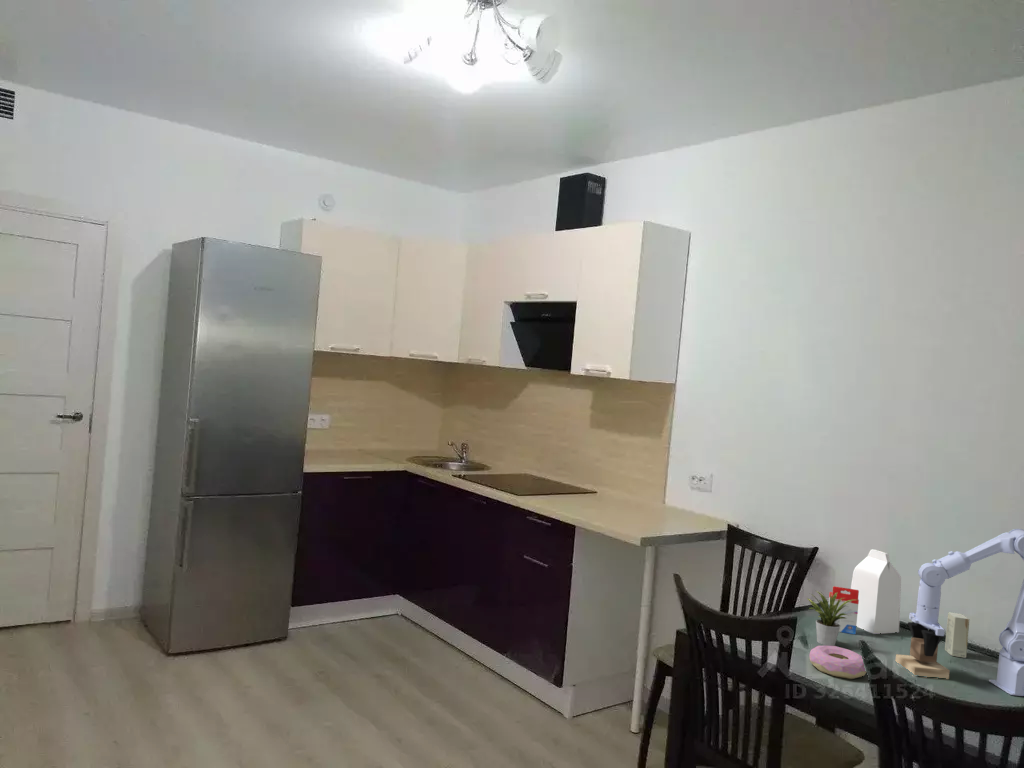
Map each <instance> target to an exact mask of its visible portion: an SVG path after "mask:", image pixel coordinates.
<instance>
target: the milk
mask: <svg viewBox="0 0 1024 768" xmlns="http://www.w3.org/2000/svg"><path fill="white" fill-rule="evenodd" d="M851 577H852V578H851V584H850V589H855V590H859V595H858V600H859V603H858V614H857V624H856V626H857V627H856V628H858V629H862V630H863V629H864V631H866V632H868V633H870V634H873V635H876V634H877V635H879V634H880V633H881V634H895V632H897V633H900V615H901V593H902V591H901V590H902V577H901V574H900V573H899V571H898V570H897V569H896V567H894V565H893V563H891V560H890V556H889V553H888V552H884V551H881V550H878V549H875V548H873V549H872V548H871V549H870V550H869V552H868V553H867V556H866V557H865V558H863V560H861V561H860V562H859V563H858V564H857V565H856V566H855V567H854V569H853V572H852V576H851Z"/></svg>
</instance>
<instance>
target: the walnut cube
mask: <svg viewBox="0 0 1024 768" xmlns="http://www.w3.org/2000/svg"><path fill="white" fill-rule="evenodd" d="M910 639H911V640H910V646H909V647H910V648H909V655H911V656H913V657H914V658H916V659H917V660H919V661H926V662H937V660H938V651H939V650H938V649H939V645H938V646H937V648H936V650H935V653H934V655H933V656H926V655H925V653H924V638H912V636H911V637H910Z"/></svg>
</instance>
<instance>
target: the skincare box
mask: <svg viewBox="0 0 1024 768" xmlns="http://www.w3.org/2000/svg"><path fill="white" fill-rule="evenodd" d="M970 621H971V620H970V618H969V617H968V616H967V615H964V614H963V613H957V612H952V611H951V612H950V611H949V612H947V621H946V622H947V623H946V631H945V633H946V634H945V644H944V650H945V652H947V654H949V655H950V656H953V657H958V658H963V659H966V658H967V654H968V653H967V650H968V640H969V632H970V631H969V629H970Z"/></svg>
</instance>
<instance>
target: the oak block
mask: <svg viewBox="0 0 1024 768" xmlns="http://www.w3.org/2000/svg"><path fill="white" fill-rule="evenodd" d="M895 661H896V662H897V663H899V664H901V665H902V666H903V667H905V668H906V669H908V670H909V671H910V672H912V673H913V674H914V675H919V676H927V677H939V678H946V679H945V680H949V679H950V672H951V671H950V669H948V668H947V667H945V666H944V665H942V664H941V663H939V662H926V661H919V660H917V659H916V658H914V657H913V656H911V655H910V654H909V655H908V654H900V653H899V654H898V653H897V654H895ZM927 677H926V678H927Z"/></svg>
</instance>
